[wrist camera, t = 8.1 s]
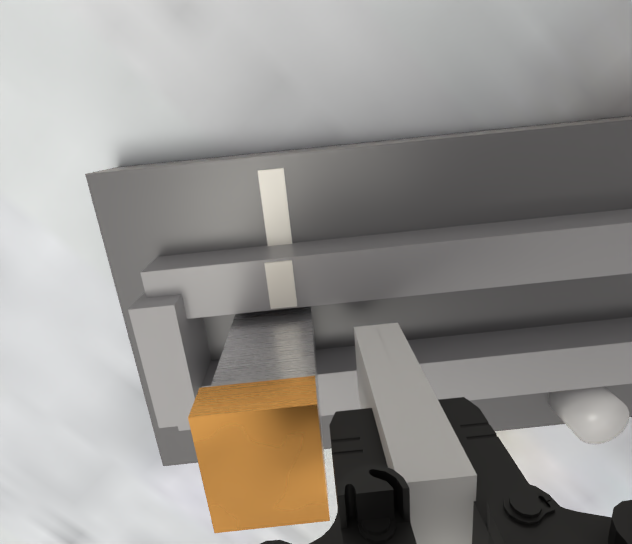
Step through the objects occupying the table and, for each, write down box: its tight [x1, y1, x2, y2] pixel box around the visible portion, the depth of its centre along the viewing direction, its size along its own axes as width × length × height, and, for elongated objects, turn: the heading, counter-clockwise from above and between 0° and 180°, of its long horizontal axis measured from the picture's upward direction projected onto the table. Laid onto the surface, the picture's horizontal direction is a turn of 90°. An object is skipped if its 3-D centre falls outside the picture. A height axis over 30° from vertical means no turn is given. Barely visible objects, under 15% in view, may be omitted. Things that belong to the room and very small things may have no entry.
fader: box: [188, 306, 330, 533], centre depth 14 cm, size 3×4×8 cm
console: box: [85, 116, 632, 466], centre depth 18 cm, size 34×14×6 cm, turn 95°
